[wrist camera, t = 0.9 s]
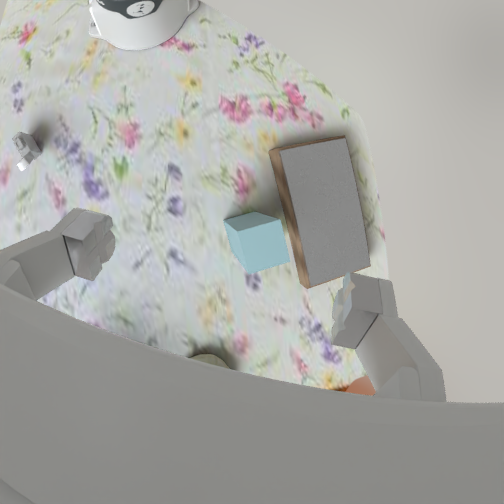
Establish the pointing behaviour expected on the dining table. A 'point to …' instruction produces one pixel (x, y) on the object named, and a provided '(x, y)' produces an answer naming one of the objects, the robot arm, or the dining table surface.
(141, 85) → the dining table surface
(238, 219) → the teal block
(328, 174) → the plinth
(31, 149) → the lighter
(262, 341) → the dining table surface
